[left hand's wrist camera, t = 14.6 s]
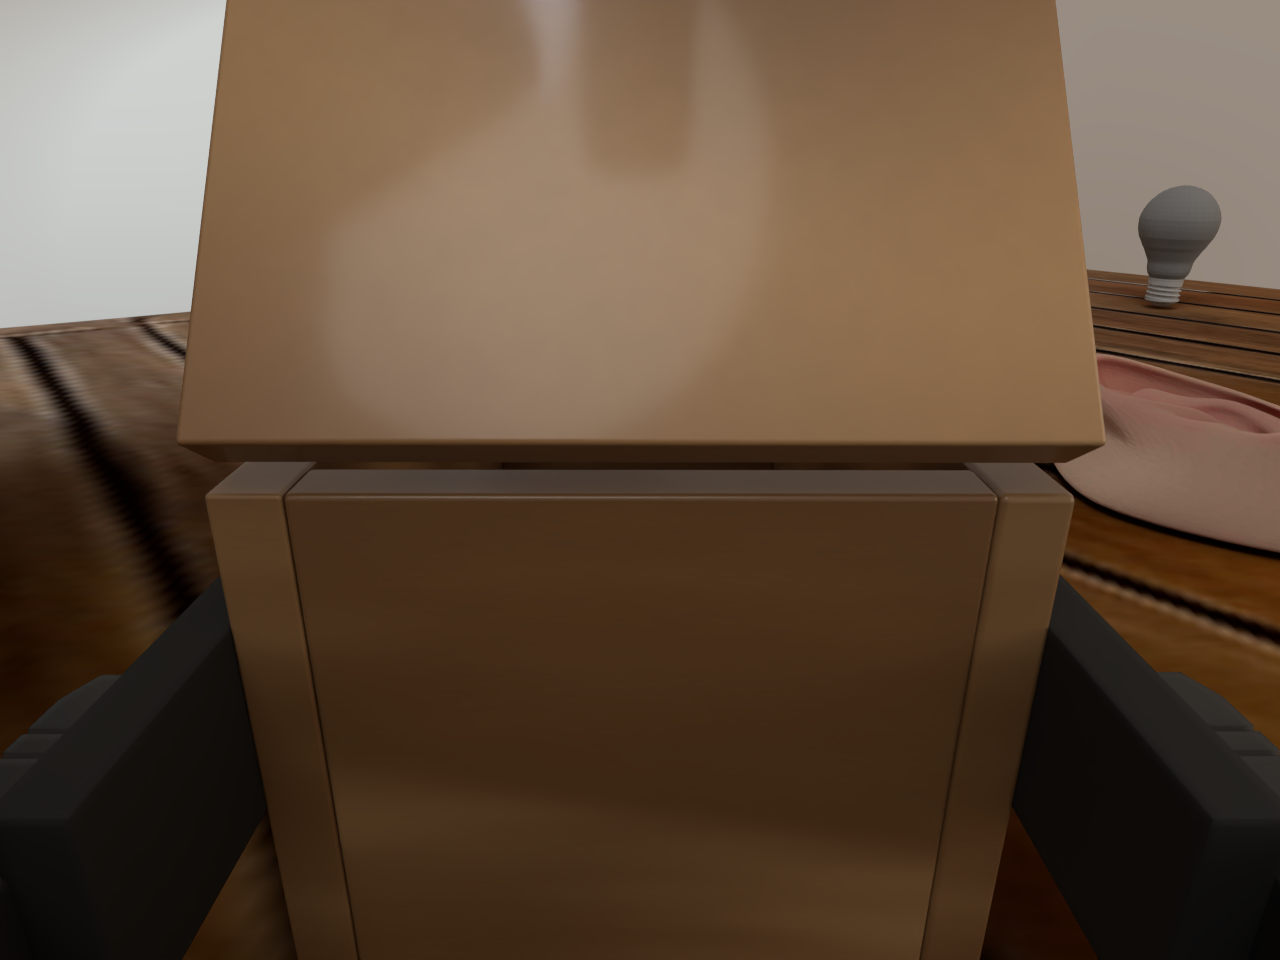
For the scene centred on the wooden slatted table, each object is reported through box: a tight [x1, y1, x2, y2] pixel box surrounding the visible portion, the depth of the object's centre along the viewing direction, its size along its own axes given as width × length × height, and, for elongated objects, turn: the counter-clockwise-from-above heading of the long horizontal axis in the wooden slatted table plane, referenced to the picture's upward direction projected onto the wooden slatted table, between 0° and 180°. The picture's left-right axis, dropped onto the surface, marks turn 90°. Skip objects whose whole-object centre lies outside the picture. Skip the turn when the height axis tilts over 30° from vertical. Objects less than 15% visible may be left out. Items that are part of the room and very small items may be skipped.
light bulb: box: [1138, 186, 1221, 306], centre depth 74 cm, size 6×6×10 cm
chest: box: [205, 462, 1074, 960], centre depth 19 cm, size 16×10×10 cm, turn 0°
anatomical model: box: [1054, 354, 1280, 553], centre depth 35 cm, size 13×4×12 cm
